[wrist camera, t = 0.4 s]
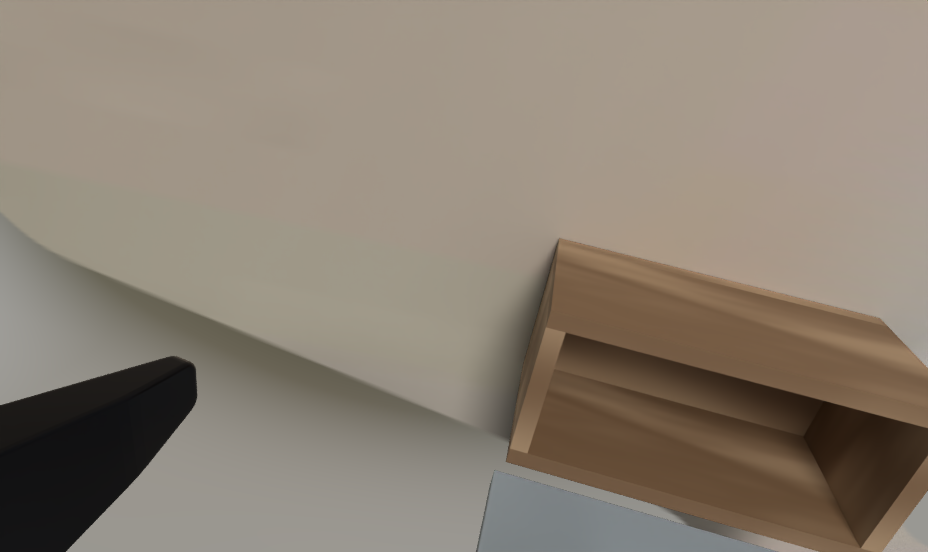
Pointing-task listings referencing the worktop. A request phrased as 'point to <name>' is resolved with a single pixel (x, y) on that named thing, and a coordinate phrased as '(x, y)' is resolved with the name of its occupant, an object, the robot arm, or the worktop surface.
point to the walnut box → (723, 402)
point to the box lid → (582, 524)
